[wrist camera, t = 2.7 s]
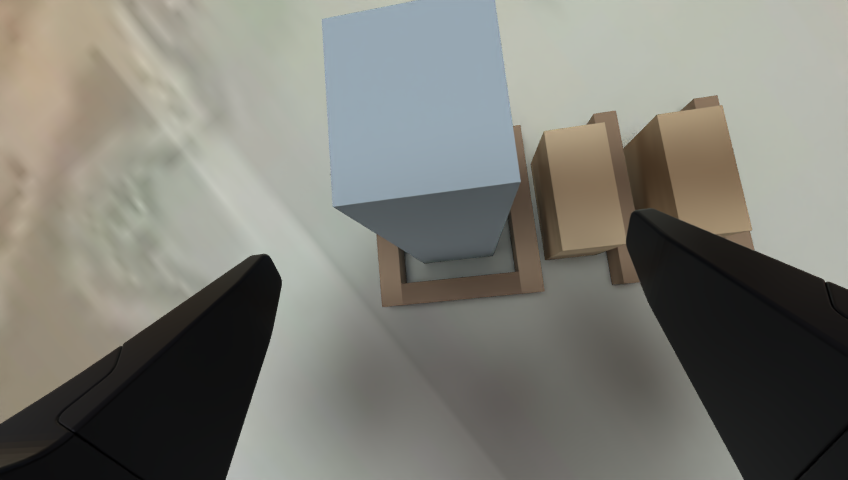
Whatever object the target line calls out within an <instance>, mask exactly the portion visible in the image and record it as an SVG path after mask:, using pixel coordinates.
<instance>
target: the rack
mask: <svg viewBox="0 0 848 480" xmlns="http://www.w3.org/2000/svg"><path fill="white" fill-rule="evenodd" d="M713 106H720V105H719V100H718V96H717V95H716V96H709V97H703V98H696V99H693V100H692V101H691V102H690V103H689V104H688V105H686V106H685V107H684V108H683V109H682V110H681V111H686V110H692V109H699V108H706V107H713ZM603 122H605V127H606V132H607V137H608V143H609V148H610V154H611V159H612V164H613V170H614V175H615V181H616V186H617V191H618V197H619V202H620V208H621V213H622V218H623V224H624V229H625V235H626V236H627V231H628V225H629V220H630V215H631V213H632V212H633V211H634V210H635V208H634V203H633V198H632V193H631V187H630V182H629V177H628V172H627V167H626V161H625V156H624V151H623V146H622V140H621V135H620V130H619V125H618V119H617V114H616V111H610V112H603V113H596V114H593V116H592V117H591V119H590V120H589V122H588V123H587V125H589V124H596V123H603ZM513 131H514V138H515V145H516V152H517V159H518V166H519V173H520V180H521V183H520V185H519V188H518V190H517V193H516V196H515V198H514V201H513V204H512V206H511V209H510V212H509V214H508V220H509V228H510V235H511V243H512V250H513V257H514V265H515V272H510V273H500V274H490V275H481V276H471V277H461V278H452V279H442V280H433V281H423V282H413V283H407V281H406V270H405V258H404V250H402V249H400V248H399V247H397V246H395V245H394V244H392V243H391V242H389V241H387V240H386V239H384V238H383V237H381V236H379V235H378V234H377V247H378V260H379V273H380V286H381V299H382V307H388V306H399V305H409V304H419V303H430V302H440V301H450V300H461V299H471V298H481V297H492V296H502V295H512V294H523V293H533V292H543V291H545V290H544V284H543V277H542V270H541V263H540V256H539V249H538V243H537V236H536V229H535V222H534V215H533V208H532V202H531V195H530V188H529V181H528V174H527V167H526V161H525V154H524V147H523V140H522V133H521V126H520V125H517V126H513ZM723 238H725V239H728V240H730V241H733V242H735V243H737V244H740V245H742V246H745V247H747V248H749V249H752V250H754V246H753V242H752V238H751V234H750V231H747V232H743V233H739V234H735V235H731V236H726V237H723ZM606 252H607V258H608V264H609V269H610V275H611V281H612V285H615V284H626V283H636V282H640V281H639V278H638V276H637V273H636V270H635V268H634V265H633V263H632V260H631V257H630V255H629V252H628V250H627V246H626V244H625V245H622V246H619V247H616V248H613V249H611V250H608V251H606Z"/></svg>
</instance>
